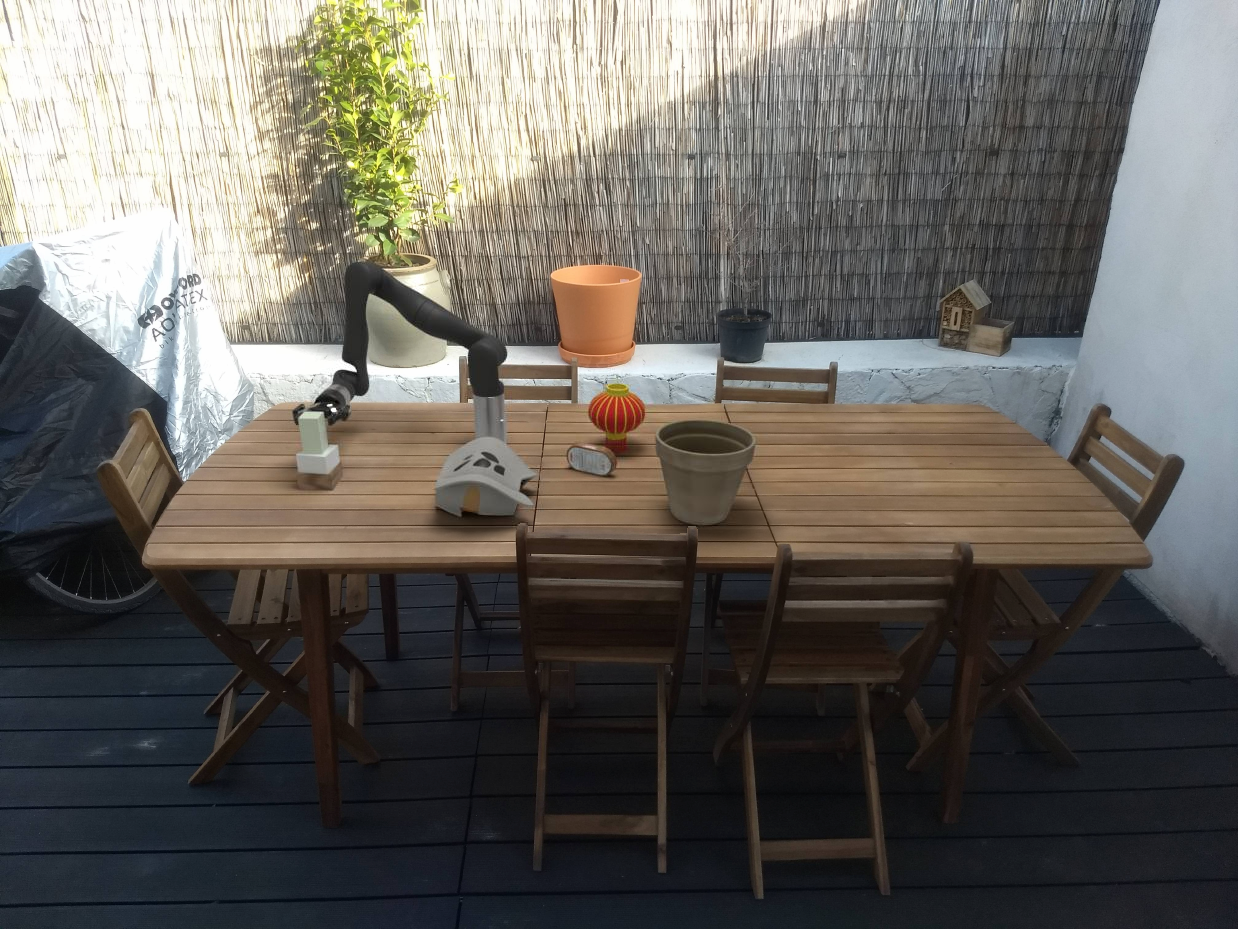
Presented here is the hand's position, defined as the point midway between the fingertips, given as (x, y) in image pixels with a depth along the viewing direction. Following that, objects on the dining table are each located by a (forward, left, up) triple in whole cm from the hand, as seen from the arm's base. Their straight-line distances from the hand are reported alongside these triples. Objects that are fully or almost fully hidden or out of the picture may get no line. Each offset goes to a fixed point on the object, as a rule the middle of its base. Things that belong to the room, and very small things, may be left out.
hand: (313, 422), depth 210 cm
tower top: (0, 0, -13) cm, 13 cm away
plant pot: (-102, +12, -18) cm, 104 cm away
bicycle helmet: (-47, +11, -18) cm, 51 cm away
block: (0, +1, -8) cm, 8 cm away
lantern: (-80, -28, -18) cm, 86 cm away
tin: (-73, -11, -18) cm, 76 cm away
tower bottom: (0, 0, -18) cm, 18 cm away
